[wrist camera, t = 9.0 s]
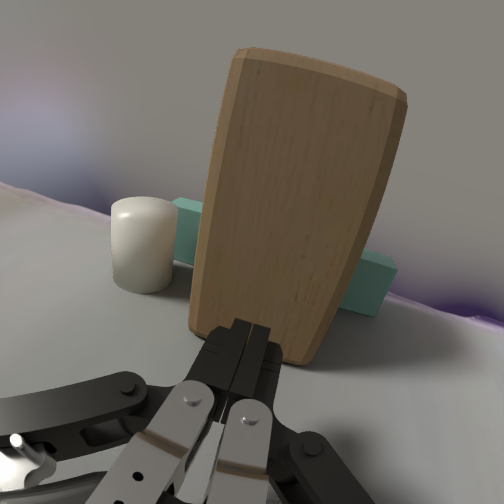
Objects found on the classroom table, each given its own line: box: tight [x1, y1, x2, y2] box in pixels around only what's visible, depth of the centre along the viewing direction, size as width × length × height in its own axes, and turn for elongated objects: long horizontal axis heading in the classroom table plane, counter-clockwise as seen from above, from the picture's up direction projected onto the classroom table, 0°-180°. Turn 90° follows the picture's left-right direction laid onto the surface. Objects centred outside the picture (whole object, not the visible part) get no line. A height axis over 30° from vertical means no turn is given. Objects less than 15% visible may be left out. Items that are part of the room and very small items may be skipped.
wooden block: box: [188, 47, 408, 365], centre depth 20 cm, size 10×10×20 cm
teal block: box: [171, 197, 398, 317], centre depth 29 cm, size 24×3×6 cm, turn 78°
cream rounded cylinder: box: [111, 197, 178, 294], centre depth 24 cm, size 6×6×7 cm
